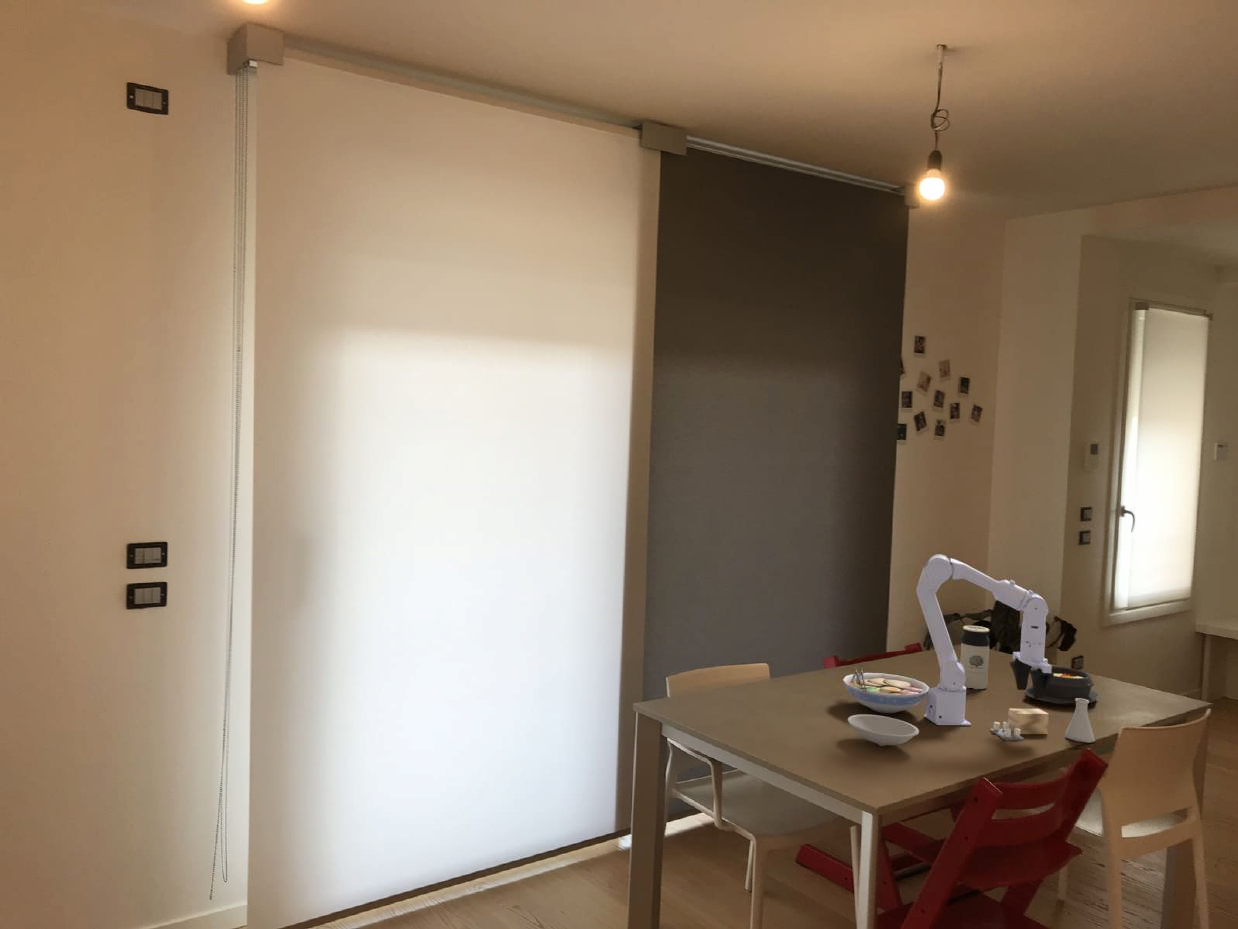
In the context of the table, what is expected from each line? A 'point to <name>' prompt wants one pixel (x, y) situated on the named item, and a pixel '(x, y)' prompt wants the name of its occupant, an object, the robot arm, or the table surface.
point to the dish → (883, 729)
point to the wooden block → (1028, 721)
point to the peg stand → (1006, 732)
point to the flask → (1080, 724)
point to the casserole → (1066, 687)
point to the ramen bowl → (885, 691)
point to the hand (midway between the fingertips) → (1029, 693)
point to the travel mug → (975, 656)
